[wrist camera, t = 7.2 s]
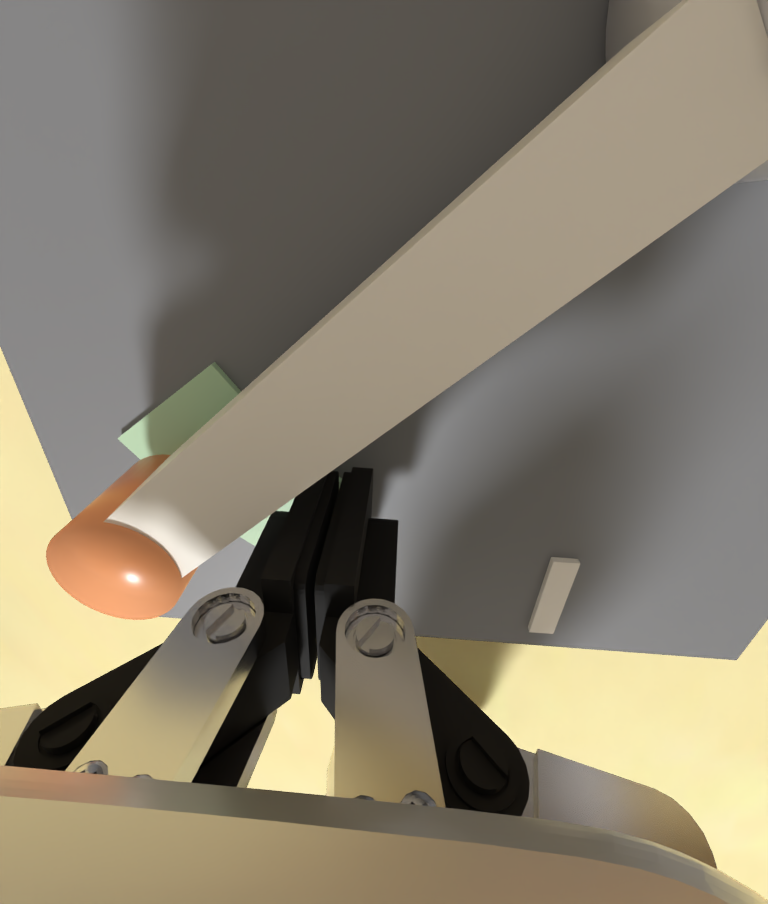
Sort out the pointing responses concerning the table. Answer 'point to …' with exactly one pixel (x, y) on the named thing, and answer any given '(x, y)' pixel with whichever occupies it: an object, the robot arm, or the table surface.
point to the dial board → (348, 265)
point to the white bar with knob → (449, 294)
